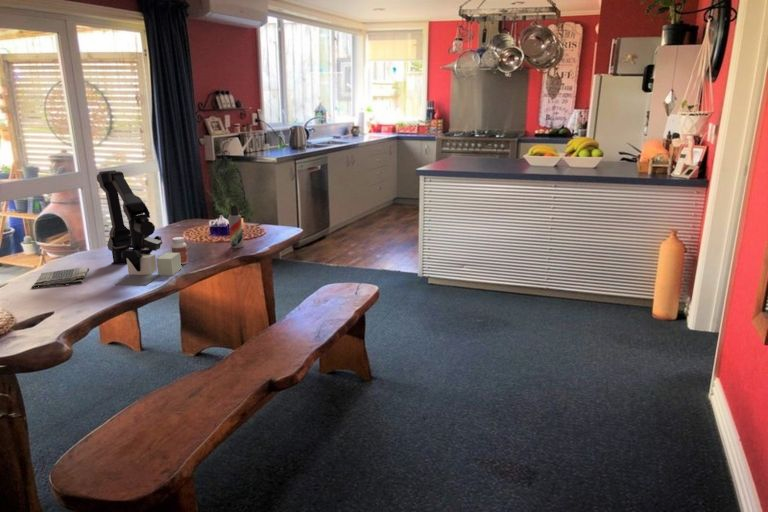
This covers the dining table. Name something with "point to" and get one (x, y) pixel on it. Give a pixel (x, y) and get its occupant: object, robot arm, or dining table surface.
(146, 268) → the upright cream box
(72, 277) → the dish towel
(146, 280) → the slate mat
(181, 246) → the pill bottle
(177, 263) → the pale green block
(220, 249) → the dining table surface
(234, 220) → the lotion bottle
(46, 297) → the dining table surface
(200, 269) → the dining table surface
